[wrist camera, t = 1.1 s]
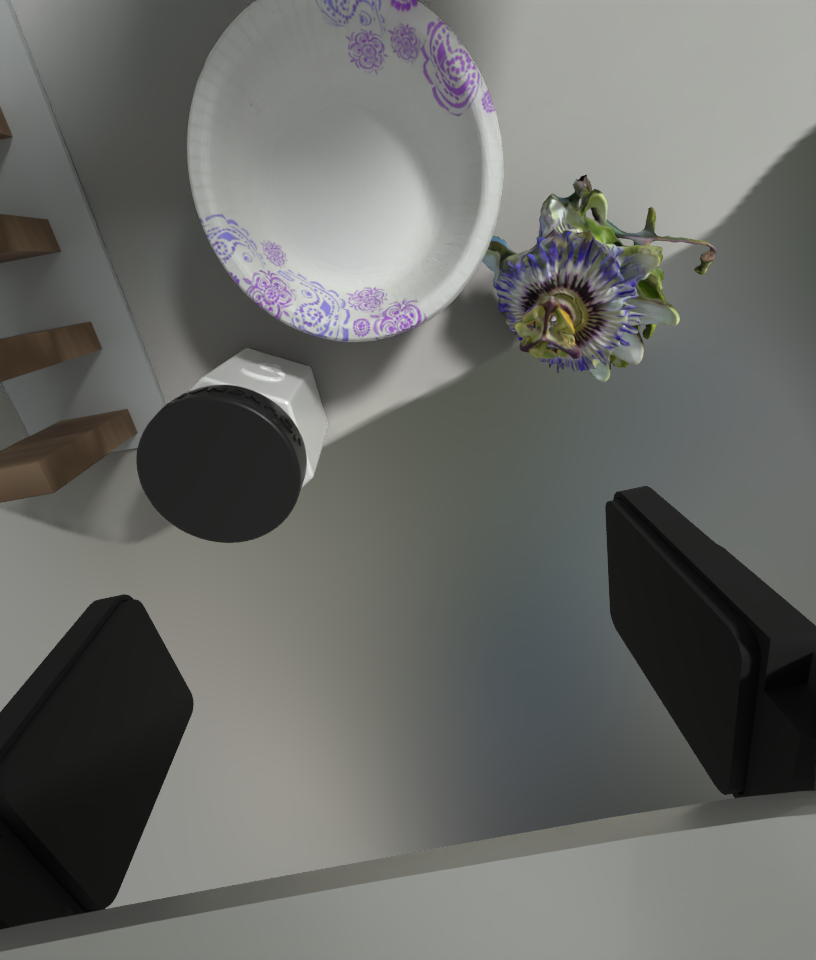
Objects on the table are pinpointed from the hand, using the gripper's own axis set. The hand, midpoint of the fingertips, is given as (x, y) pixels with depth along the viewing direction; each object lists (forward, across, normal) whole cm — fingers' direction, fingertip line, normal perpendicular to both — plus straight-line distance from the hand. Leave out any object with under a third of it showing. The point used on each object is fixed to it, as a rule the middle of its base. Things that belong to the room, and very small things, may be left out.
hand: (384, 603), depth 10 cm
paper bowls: (+27, -1, -10) cm, 29 cm away
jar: (+27, +9, +2) cm, 29 cm away
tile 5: (+27, +21, 0) cm, 34 cm away
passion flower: (+28, -13, -2) cm, 31 cm away
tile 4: (+27, +21, -6) cm, 34 cm away
